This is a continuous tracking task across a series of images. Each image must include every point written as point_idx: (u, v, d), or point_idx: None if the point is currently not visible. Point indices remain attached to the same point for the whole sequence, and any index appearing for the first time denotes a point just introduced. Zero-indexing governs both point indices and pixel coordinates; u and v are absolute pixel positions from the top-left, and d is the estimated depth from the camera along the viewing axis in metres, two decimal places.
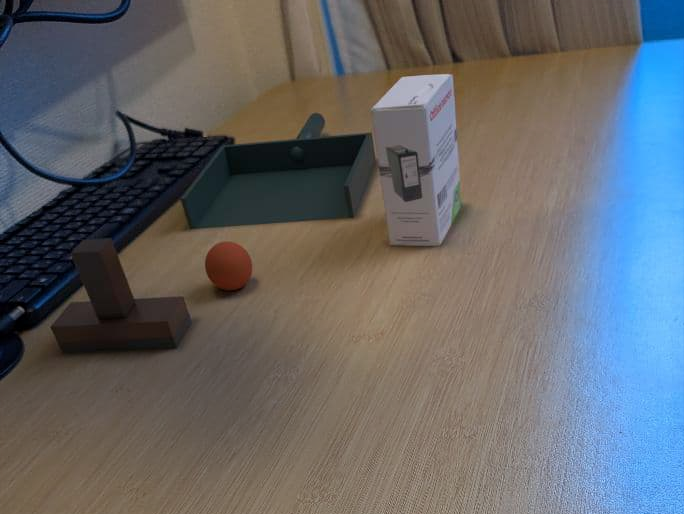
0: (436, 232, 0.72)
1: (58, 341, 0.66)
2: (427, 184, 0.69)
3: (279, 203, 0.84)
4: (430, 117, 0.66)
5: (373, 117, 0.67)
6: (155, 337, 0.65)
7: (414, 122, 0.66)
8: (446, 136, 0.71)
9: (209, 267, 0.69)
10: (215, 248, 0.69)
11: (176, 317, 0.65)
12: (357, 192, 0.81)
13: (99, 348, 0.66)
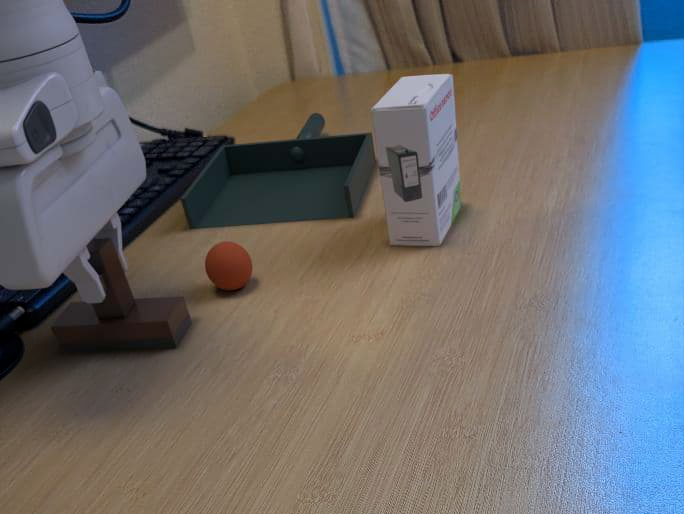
0: (436, 232, 0.72)
1: (58, 341, 0.66)
2: (427, 184, 0.69)
3: (279, 203, 0.84)
4: (430, 117, 0.66)
5: (373, 117, 0.67)
6: (155, 337, 0.65)
7: (414, 122, 0.66)
8: (447, 137, 0.71)
9: (209, 267, 0.69)
10: (215, 248, 0.69)
11: (176, 317, 0.65)
12: (357, 192, 0.81)
13: (99, 348, 0.66)
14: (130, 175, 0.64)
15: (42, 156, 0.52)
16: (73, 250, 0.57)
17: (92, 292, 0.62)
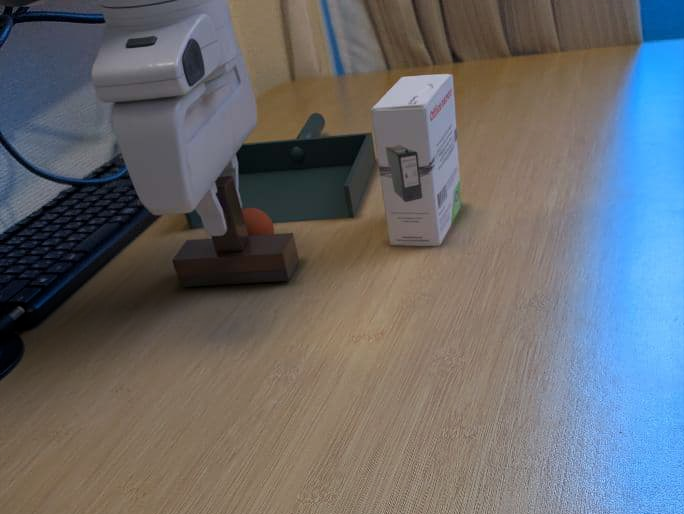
0: (436, 232, 0.72)
1: (178, 274, 0.72)
2: (427, 184, 0.69)
3: (279, 203, 0.84)
4: (430, 117, 0.66)
5: (373, 117, 0.67)
6: (269, 269, 0.70)
7: (414, 122, 0.66)
8: (447, 136, 0.71)
9: None
10: None
11: (288, 251, 0.71)
12: (357, 192, 0.81)
13: (216, 280, 0.72)
14: (247, 120, 0.70)
15: (192, 90, 0.57)
16: (208, 181, 0.62)
17: (216, 225, 0.67)
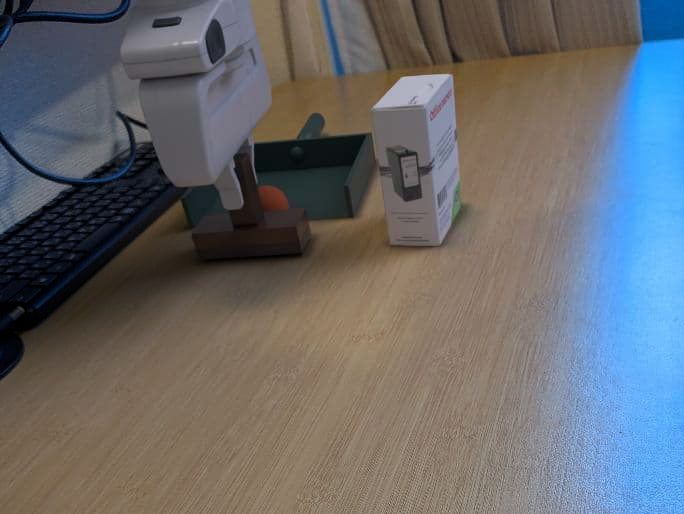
0: (436, 232, 0.72)
1: (196, 247, 0.75)
2: (427, 184, 0.69)
3: None
4: (430, 117, 0.66)
5: (373, 117, 0.67)
6: (283, 242, 0.74)
7: (414, 122, 0.66)
8: (447, 136, 0.71)
9: None
10: None
11: (301, 225, 0.74)
12: (357, 192, 0.81)
13: (232, 253, 0.75)
14: (262, 100, 0.74)
15: (214, 68, 0.61)
16: (228, 156, 0.66)
17: (233, 199, 0.71)
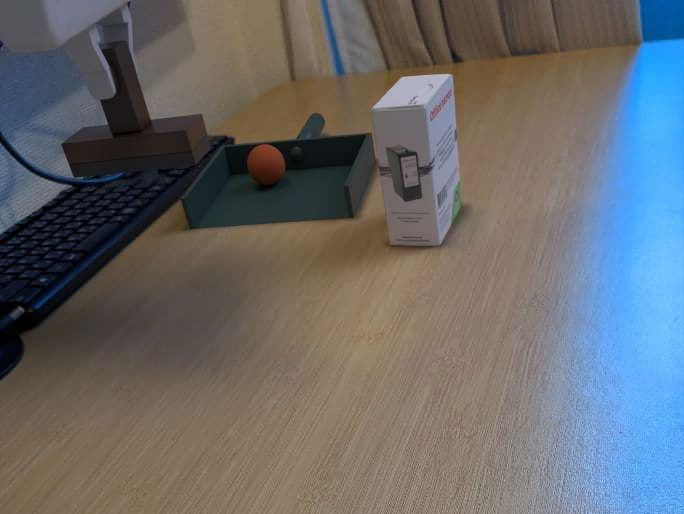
0: (436, 232, 0.72)
1: (69, 162, 0.62)
2: (427, 184, 0.69)
3: (279, 203, 0.84)
4: (430, 117, 0.66)
5: (373, 117, 0.67)
6: (173, 151, 0.61)
7: (414, 122, 0.66)
8: (447, 137, 0.71)
9: (265, 184, 0.88)
10: (253, 175, 0.87)
11: (195, 131, 0.61)
12: (357, 192, 0.81)
13: (113, 168, 0.62)
14: None
15: None
16: (83, 19, 0.52)
17: (102, 85, 0.58)
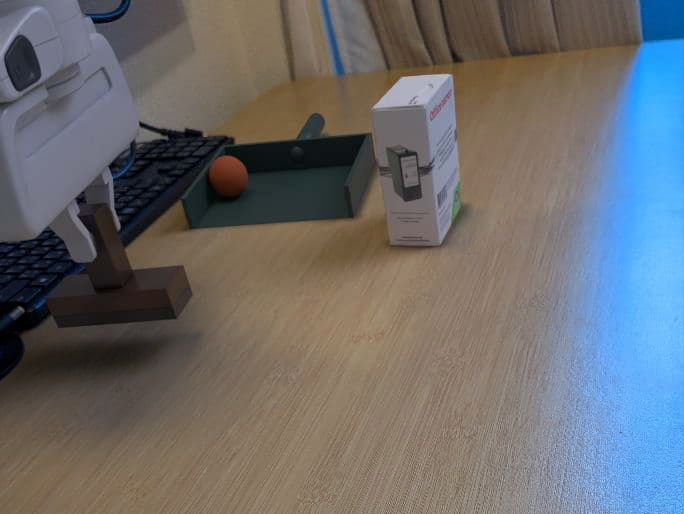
0: (436, 232, 0.72)
1: (53, 314, 0.63)
2: (427, 184, 0.69)
3: (279, 203, 0.84)
4: (430, 117, 0.66)
5: (373, 117, 0.67)
6: (154, 306, 0.62)
7: (414, 122, 0.66)
8: (447, 136, 0.71)
9: (246, 172, 0.86)
10: None
11: (175, 286, 0.62)
12: (357, 192, 0.81)
13: (96, 320, 0.63)
14: (122, 129, 0.61)
15: (26, 96, 0.48)
16: (61, 201, 0.53)
17: (82, 250, 0.59)
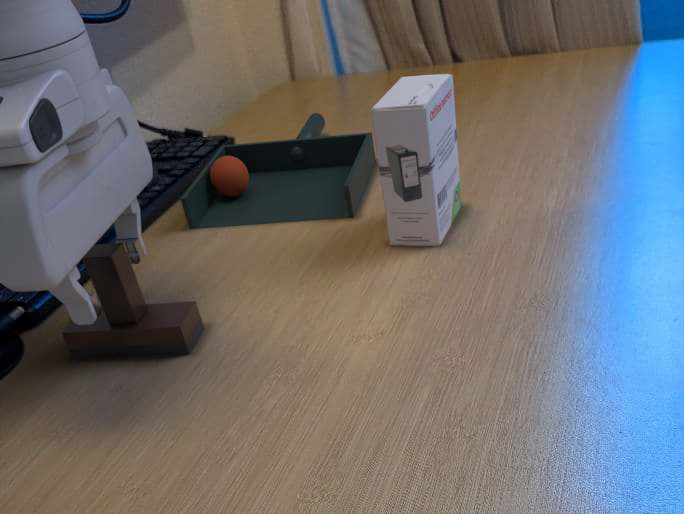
0: (436, 232, 0.72)
1: (69, 347, 0.65)
2: (427, 184, 0.69)
3: (279, 203, 0.84)
4: (430, 117, 0.66)
5: (373, 117, 0.67)
6: (168, 343, 0.64)
7: (414, 122, 0.66)
8: (447, 136, 0.71)
9: (247, 173, 0.86)
10: None
11: (189, 323, 0.64)
12: (357, 192, 0.81)
13: (111, 354, 0.65)
14: (137, 175, 0.63)
15: (48, 155, 0.51)
16: (79, 251, 0.56)
17: (83, 313, 0.59)
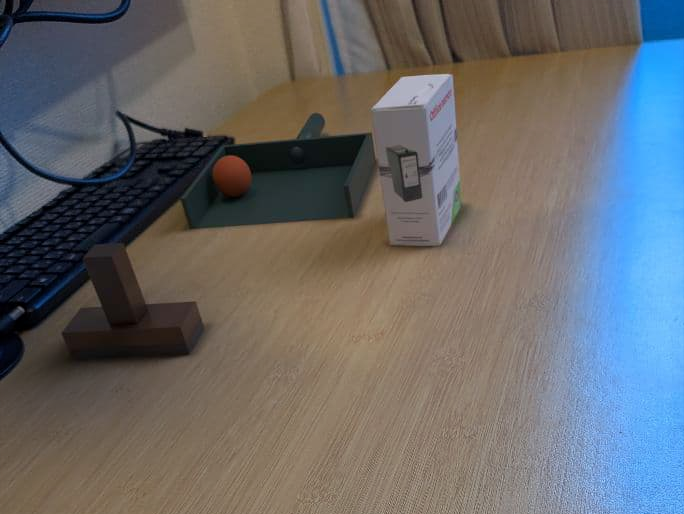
0: (436, 232, 0.72)
1: (69, 347, 0.65)
2: (427, 184, 0.69)
3: (279, 203, 0.84)
4: (430, 117, 0.66)
5: (373, 117, 0.67)
6: (168, 343, 0.64)
7: (414, 122, 0.66)
8: (447, 136, 0.71)
9: (250, 175, 0.86)
10: None
11: (189, 323, 0.64)
12: (357, 192, 0.81)
13: (111, 354, 0.65)
14: None
15: None
16: None
17: None
